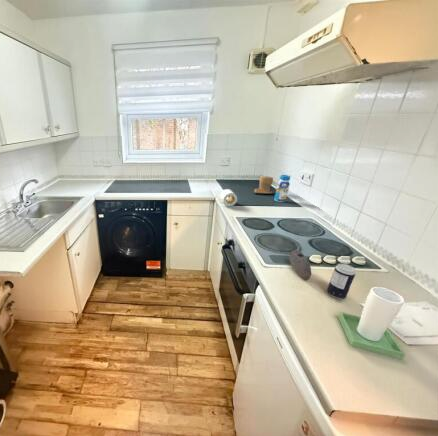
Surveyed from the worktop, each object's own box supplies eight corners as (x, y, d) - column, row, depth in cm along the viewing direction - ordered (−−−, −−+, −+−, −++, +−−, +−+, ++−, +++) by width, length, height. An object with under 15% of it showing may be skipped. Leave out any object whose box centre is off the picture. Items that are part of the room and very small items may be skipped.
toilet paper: (219, 201, 185) (220, 189, 181) (232, 201, 185) (234, 189, 181) (222, 205, 176) (224, 193, 172) (236, 206, 176) (238, 193, 172)
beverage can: (348, 302, 83) (359, 273, 79) (329, 298, 85) (339, 270, 81) (342, 291, 88) (352, 264, 84) (324, 288, 90) (333, 261, 86)
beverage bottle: (276, 198, 192) (281, 173, 185) (287, 200, 187) (293, 175, 179) (272, 200, 187) (277, 175, 179) (283, 203, 181) (289, 177, 174)
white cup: (388, 347, 66) (411, 305, 60) (359, 340, 68) (378, 299, 62) (375, 328, 72) (395, 289, 66) (349, 323, 74) (366, 284, 68)
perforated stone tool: (313, 284, 92) (318, 269, 90) (298, 282, 93) (303, 267, 91) (299, 263, 106) (303, 249, 103) (286, 261, 107) (289, 248, 104)
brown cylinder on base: (269, 191, 211) (272, 174, 205) (273, 195, 200) (277, 177, 194) (251, 190, 213) (254, 174, 207) (254, 194, 202) (257, 177, 196)
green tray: (381, 326, 74) (383, 322, 73) (402, 359, 63) (405, 354, 63) (337, 316, 77) (339, 311, 77) (351, 346, 67) (353, 341, 67)
